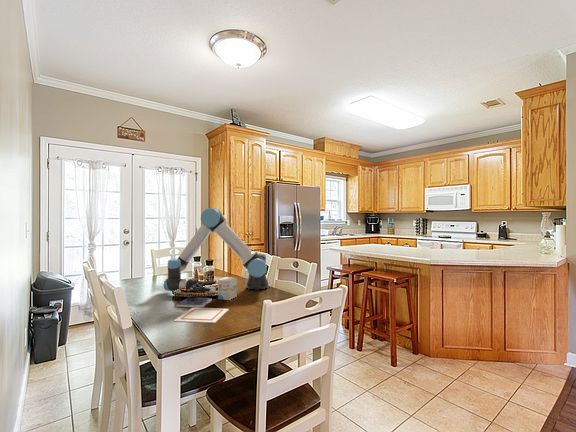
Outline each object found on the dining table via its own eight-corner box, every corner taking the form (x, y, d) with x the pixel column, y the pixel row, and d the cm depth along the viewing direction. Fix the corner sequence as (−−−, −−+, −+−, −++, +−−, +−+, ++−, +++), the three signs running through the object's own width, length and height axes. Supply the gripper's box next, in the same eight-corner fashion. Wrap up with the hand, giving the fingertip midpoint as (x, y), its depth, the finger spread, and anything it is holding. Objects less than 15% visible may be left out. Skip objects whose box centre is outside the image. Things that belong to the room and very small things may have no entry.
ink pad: (211, 300, 176) (211, 297, 176) (202, 307, 163) (202, 304, 163) (187, 299, 178) (187, 296, 178) (175, 306, 164) (175, 303, 164)
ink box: (217, 299, 179) (217, 279, 179) (225, 295, 187) (224, 276, 187) (230, 300, 176) (230, 280, 176) (237, 296, 184) (237, 277, 184)
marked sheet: (228, 309, 159) (228, 308, 159) (215, 322, 139) (215, 321, 139) (192, 308, 161) (192, 307, 161) (173, 321, 141) (173, 320, 141)
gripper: (198, 287, 199) (229, 288, 194) (177, 297, 174) (211, 298, 170) (198, 275, 199) (229, 276, 194) (176, 283, 174) (211, 285, 170)
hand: (220, 287), depth 182 cm, fingers open, 13 cm apart
